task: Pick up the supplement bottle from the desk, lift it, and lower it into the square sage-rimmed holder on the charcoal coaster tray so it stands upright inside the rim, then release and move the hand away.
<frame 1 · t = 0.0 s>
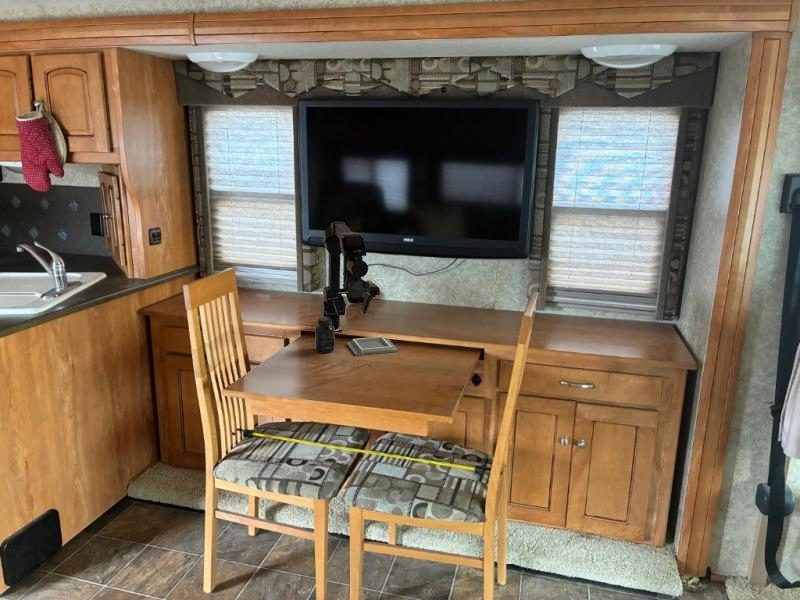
hand: (351, 314, 210), 15 cm above the table, tool pointing down, fingers open, 9 cm apart
supplement bottle: (324, 351, 218), on the table
coaster tray: (372, 348, 221), on the table
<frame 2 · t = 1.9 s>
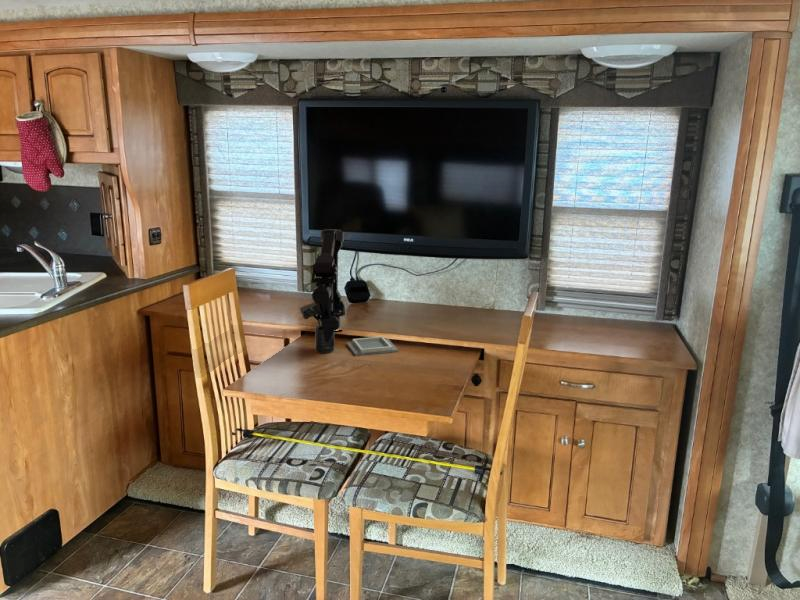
hand: (324, 338, 216), 5 cm above the table, tool pointing down, fingers closed on supplement bottle, 7 cm apart
supplement bottle: (325, 351, 218), on the table, touching gripper
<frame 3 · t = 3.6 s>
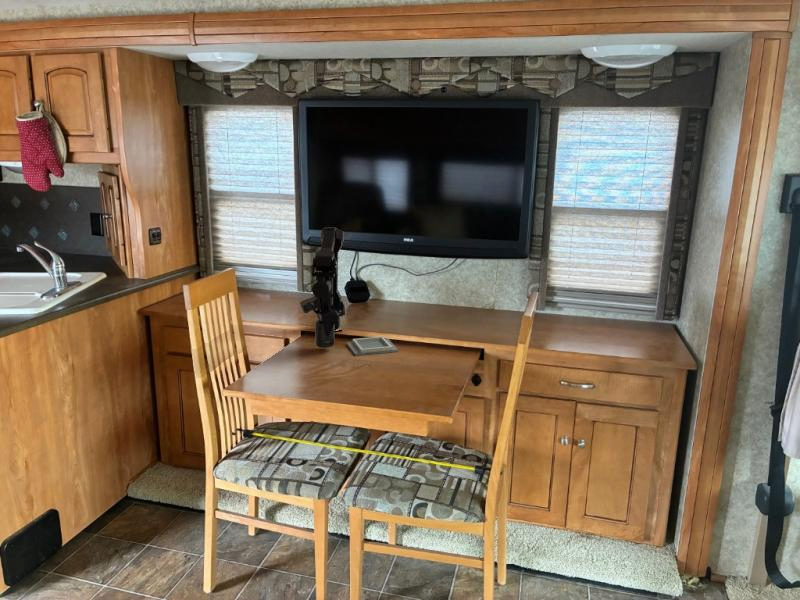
hand: (324, 332, 216), 7 cm above the table, tool pointing down, fingers closed on supplement bottle, 7 cm apart
supplement bottle: (324, 345, 217), point 2 cm above the table, touching gripper
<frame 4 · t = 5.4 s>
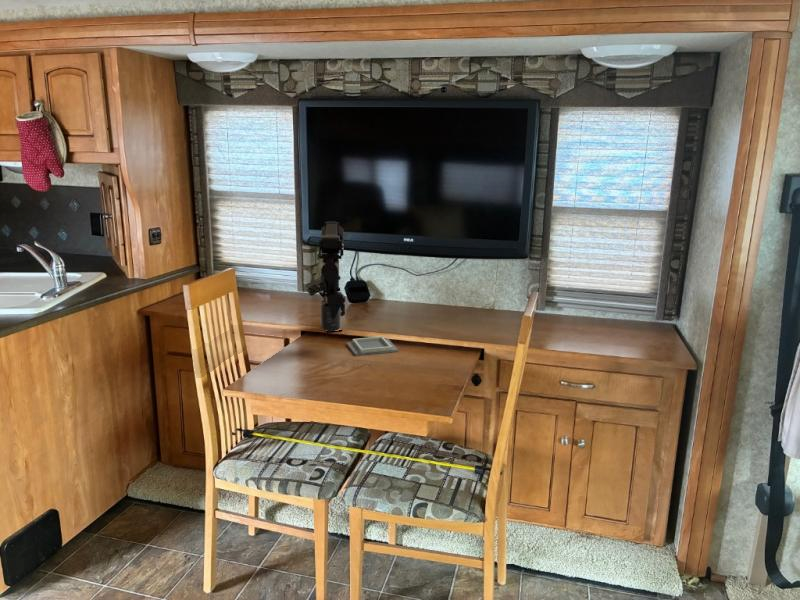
hand: (330, 315, 215), 13 cm above the table, tool pointing down, fingers closed on supplement bottle, 7 cm apart
supplement bottle: (330, 328, 216), point 8 cm above the table, touching gripper
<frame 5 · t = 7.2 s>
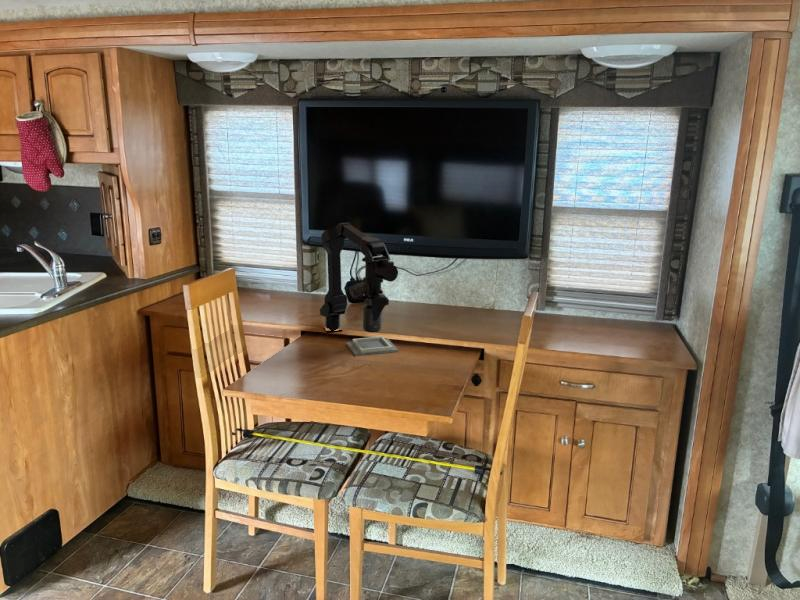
hand: (372, 317, 218), 11 cm above the table, tool pointing down, fingers closed on supplement bottle, 7 cm apart
supplement bottle: (372, 330, 220), point 7 cm above the table, touching gripper
when the fingers open (7 cm above the table, at t = 8.7 s): supplement bottle drops 1 cm, resting on coaster tray.
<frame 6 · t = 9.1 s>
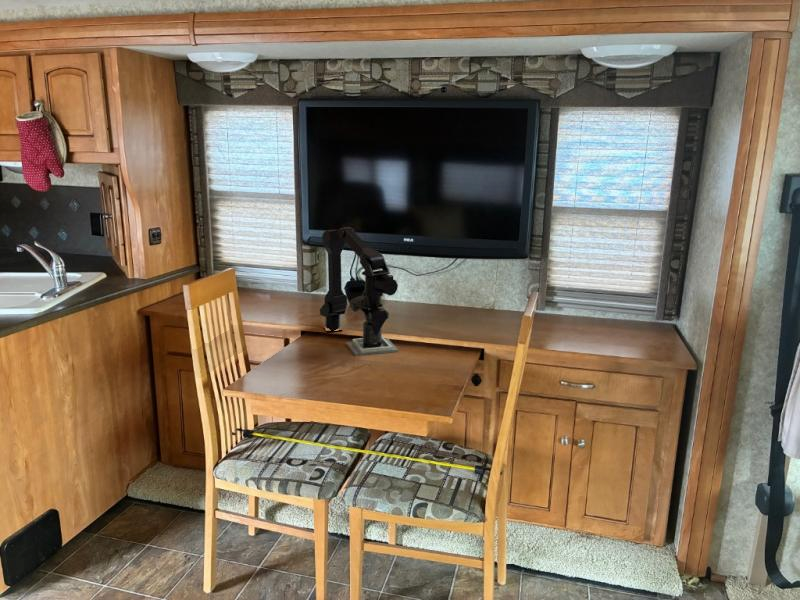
hand: (372, 330, 220), 7 cm above the table, tool pointing down, fingers open, 9 cm apart
supplement bottle: (372, 346, 221), point 1 cm above the table, touching coaster tray
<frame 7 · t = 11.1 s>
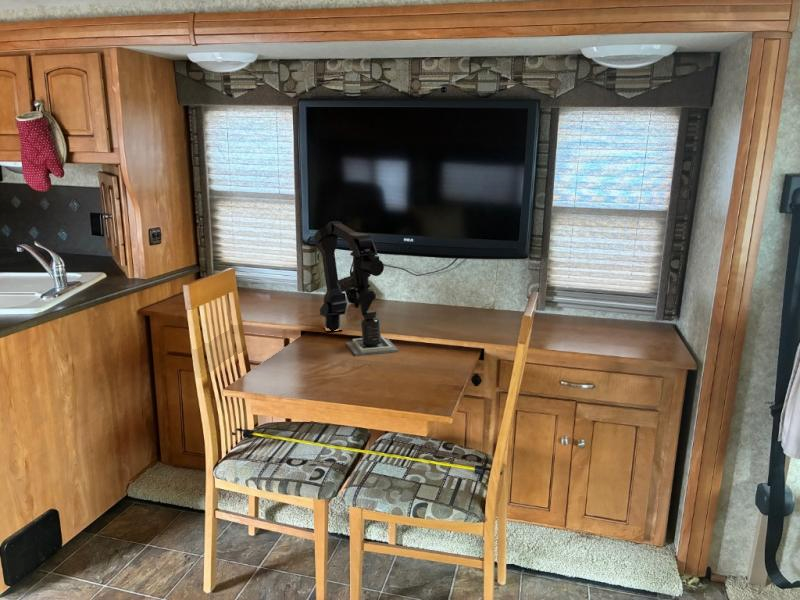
hand: (360, 311, 222), 13 cm above the table, tool pointing down, fingers open, 9 cm apart
supplement bottle: (372, 344, 221), point 1 cm above the table, touching coaster tray, gripper
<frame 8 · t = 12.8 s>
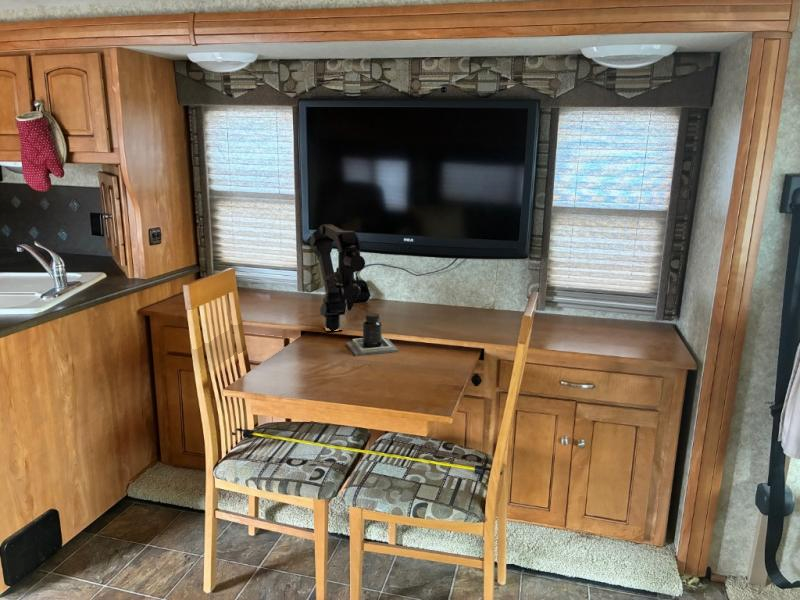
hand: (346, 306, 225), 13 cm above the table, tool pointing down, fingers open, 9 cm apart
supplement bottle: (372, 346, 221), point 1 cm above the table, touching coaster tray
at the end: supplement bottle 0.1 cm from the coaster tray (horizontally); supplement bottle point 0.6 cm above the table; supplement bottle tilted 0° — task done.
